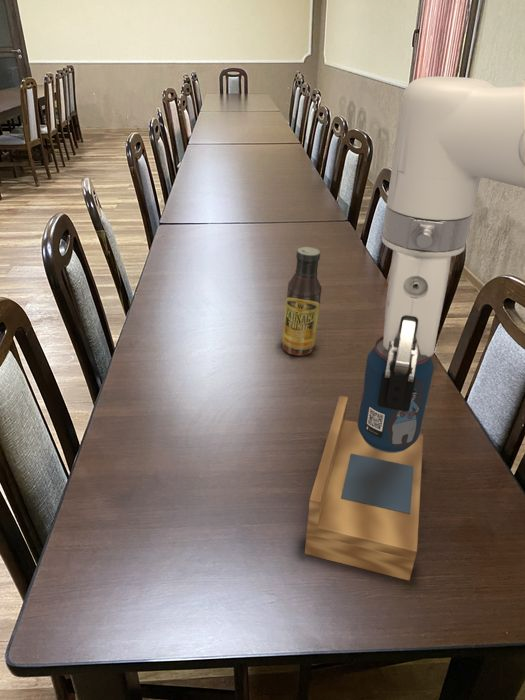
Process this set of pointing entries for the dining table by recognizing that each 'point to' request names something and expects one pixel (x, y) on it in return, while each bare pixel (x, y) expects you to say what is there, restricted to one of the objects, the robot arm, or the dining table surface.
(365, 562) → the wooden block with lip
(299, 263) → the sauce bottle
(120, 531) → the dining table surface
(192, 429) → the dining table surface
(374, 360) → the soda can
